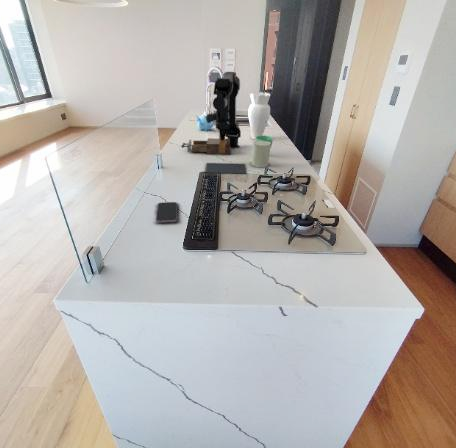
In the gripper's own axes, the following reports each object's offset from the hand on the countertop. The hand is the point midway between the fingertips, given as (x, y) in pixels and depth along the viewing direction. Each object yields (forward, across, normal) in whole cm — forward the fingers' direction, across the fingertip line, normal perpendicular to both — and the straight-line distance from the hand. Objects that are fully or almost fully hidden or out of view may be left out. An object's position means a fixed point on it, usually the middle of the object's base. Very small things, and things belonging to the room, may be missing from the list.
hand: (222, 139), depth 146 cm
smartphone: (+14, +56, -19) cm, 60 cm away
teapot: (+13, -79, -14) cm, 81 cm away
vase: (+13, -56, +24) cm, 62 cm away
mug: (+13, -20, +24) cm, 34 cm away
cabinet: (+13, -23, -2) cm, 27 cm away
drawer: (+12, -23, -16) cm, 31 cm away
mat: (+13, +6, +2) cm, 15 cm away
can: (+13, -2, +21) cm, 25 cm away
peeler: (+6, 0, 0) cm, 7 cm away
